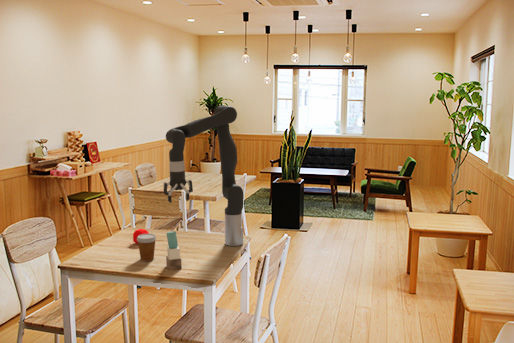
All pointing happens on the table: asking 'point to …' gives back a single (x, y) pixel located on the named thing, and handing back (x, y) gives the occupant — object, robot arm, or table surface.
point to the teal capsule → (172, 239)
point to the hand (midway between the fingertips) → (178, 201)
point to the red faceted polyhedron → (139, 232)
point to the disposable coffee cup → (146, 246)
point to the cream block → (173, 253)
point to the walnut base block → (173, 264)
